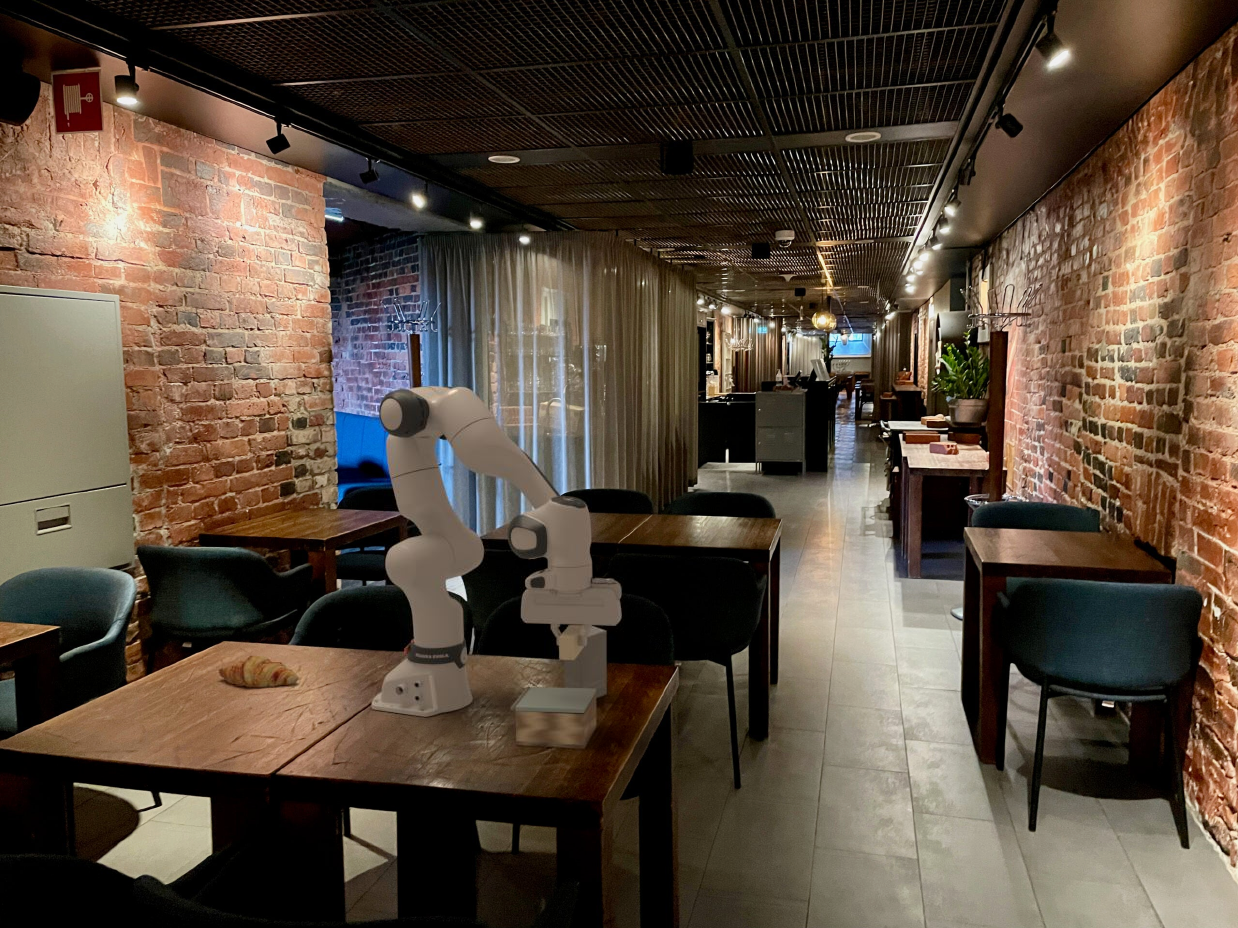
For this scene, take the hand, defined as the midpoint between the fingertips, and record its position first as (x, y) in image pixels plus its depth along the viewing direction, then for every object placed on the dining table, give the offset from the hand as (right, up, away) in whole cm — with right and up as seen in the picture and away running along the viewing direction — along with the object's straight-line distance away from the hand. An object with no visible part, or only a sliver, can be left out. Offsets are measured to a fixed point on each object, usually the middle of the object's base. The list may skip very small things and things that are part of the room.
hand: (571, 644), depth 186 cm
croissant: (-79, -17, +39) cm, 89 cm away
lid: (-4, -12, +3) cm, 13 cm away
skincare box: (+2, -17, +26) cm, 31 cm away
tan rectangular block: (0, -2, 0) cm, 2 cm away
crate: (-3, -19, +3) cm, 20 cm away
